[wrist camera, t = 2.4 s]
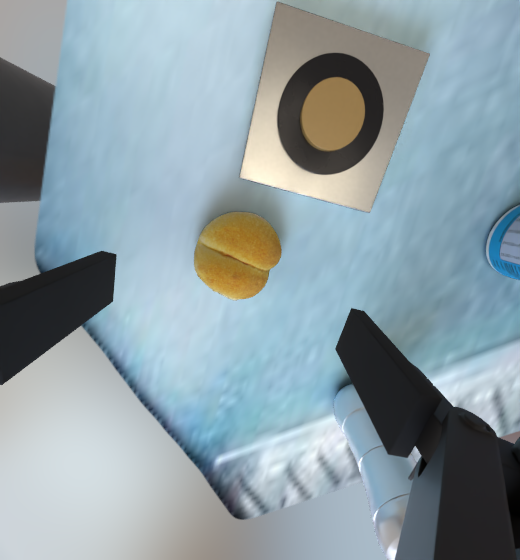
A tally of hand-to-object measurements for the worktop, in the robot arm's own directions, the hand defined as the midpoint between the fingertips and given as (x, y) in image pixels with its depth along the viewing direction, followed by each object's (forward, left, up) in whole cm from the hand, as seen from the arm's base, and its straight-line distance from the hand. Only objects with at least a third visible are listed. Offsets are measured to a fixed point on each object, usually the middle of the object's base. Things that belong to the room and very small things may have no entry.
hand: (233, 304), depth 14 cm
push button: (+4, +13, -14) cm, 20 cm away
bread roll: (-1, -1, -14) cm, 14 cm away
